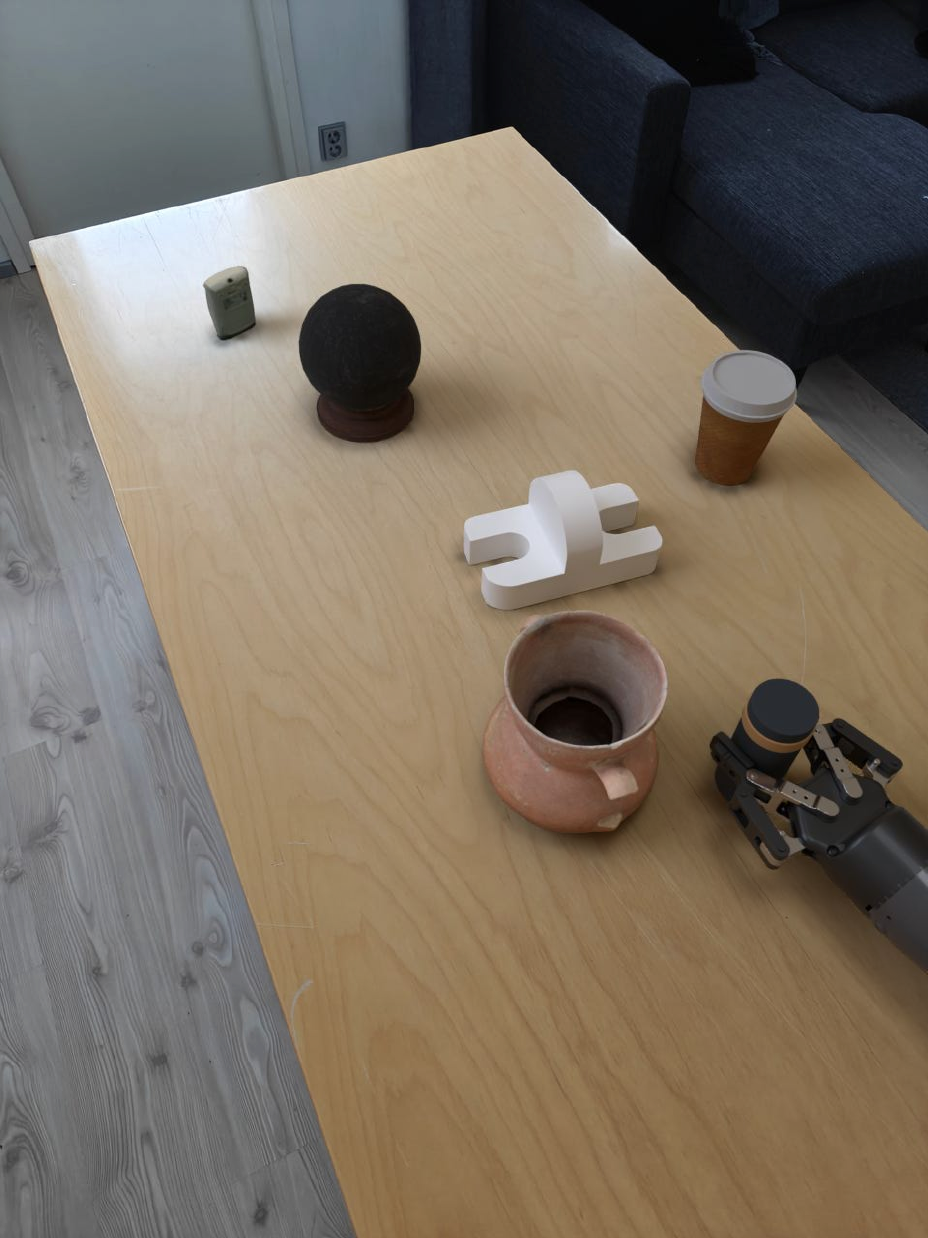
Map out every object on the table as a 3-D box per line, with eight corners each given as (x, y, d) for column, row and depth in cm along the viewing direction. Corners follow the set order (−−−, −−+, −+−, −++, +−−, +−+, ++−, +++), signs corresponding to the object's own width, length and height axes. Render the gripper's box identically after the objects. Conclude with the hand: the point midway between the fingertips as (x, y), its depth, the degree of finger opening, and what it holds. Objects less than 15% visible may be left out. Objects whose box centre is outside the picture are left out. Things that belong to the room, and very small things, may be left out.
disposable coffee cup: (663, 451, 103) (685, 362, 93) (731, 426, 106) (760, 337, 96) (714, 507, 98) (743, 419, 88) (785, 478, 101) (821, 390, 91)
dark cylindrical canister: (766, 751, 80) (809, 674, 71) (784, 807, 77) (831, 734, 67) (706, 755, 80) (741, 678, 70) (721, 812, 77) (760, 739, 67)
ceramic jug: (687, 831, 76) (728, 745, 64) (520, 883, 73) (533, 802, 61) (601, 658, 86) (623, 558, 75) (452, 698, 83) (452, 599, 72)
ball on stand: (443, 394, 108) (442, 279, 97) (386, 463, 101) (378, 348, 89) (347, 360, 112) (335, 246, 100) (286, 425, 105) (264, 309, 93)
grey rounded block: (245, 348, 113) (232, 290, 107) (205, 340, 114) (191, 282, 108) (263, 321, 117) (252, 263, 110) (224, 314, 117) (211, 256, 111)
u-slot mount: (491, 615, 89) (495, 546, 81) (459, 544, 94) (460, 473, 86) (661, 571, 92) (680, 501, 85) (621, 505, 98) (636, 434, 90)
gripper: (998, 812, 66) (817, 651, 74) (862, 926, 61) (685, 740, 69) (952, 854, 72) (790, 701, 80) (825, 962, 67) (666, 786, 75)
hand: (742, 720), depth 75 cm, fingers open, 5 cm apart
